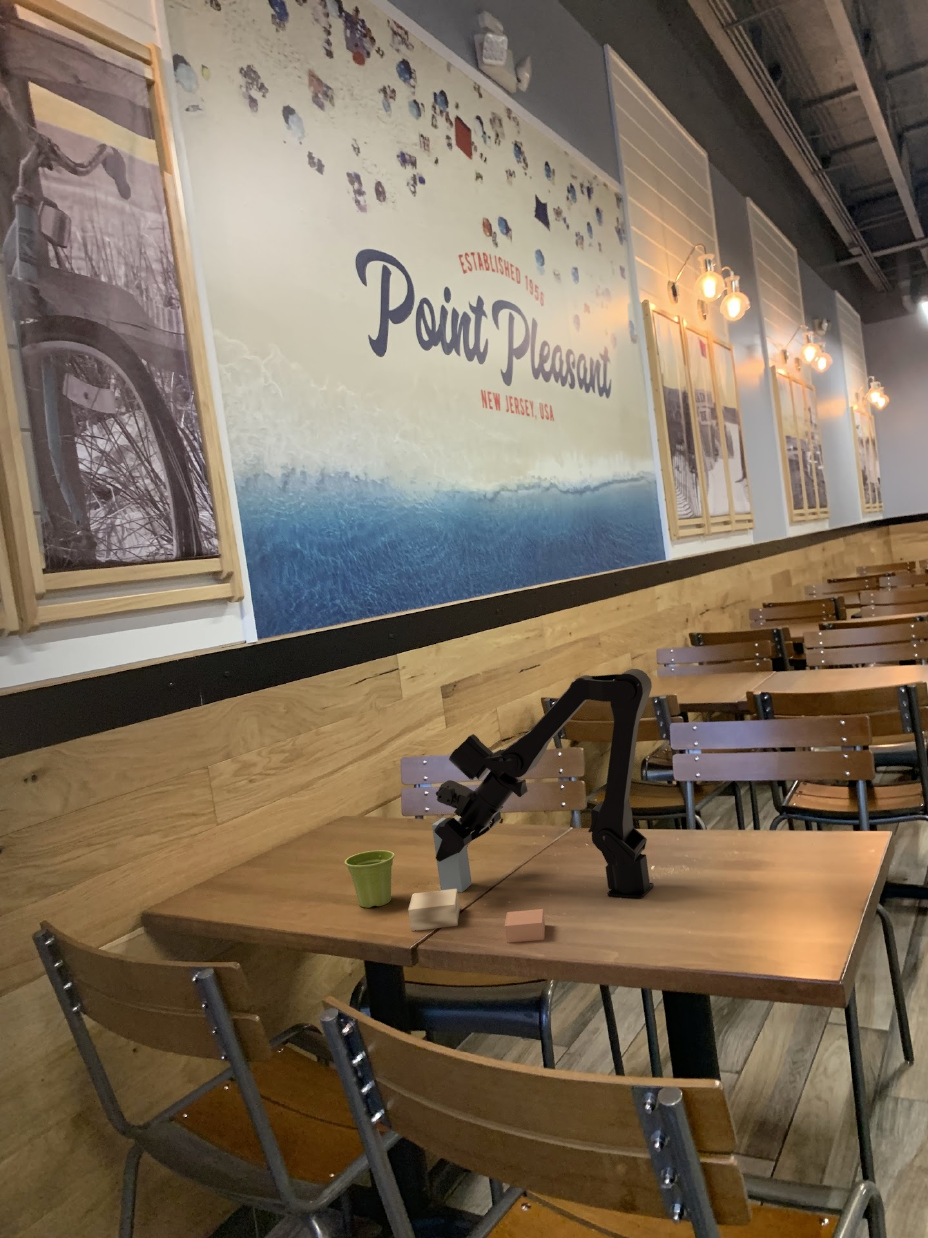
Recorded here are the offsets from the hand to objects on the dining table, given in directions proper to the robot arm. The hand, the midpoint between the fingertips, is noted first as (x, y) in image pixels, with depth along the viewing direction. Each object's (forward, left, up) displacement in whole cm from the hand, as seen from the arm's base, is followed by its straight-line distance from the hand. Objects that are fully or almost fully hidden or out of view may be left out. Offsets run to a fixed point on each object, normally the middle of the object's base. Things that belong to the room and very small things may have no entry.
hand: (445, 854), depth 178 cm
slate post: (-1, 0, -7) cm, 7 cm away
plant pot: (+11, +10, -7) cm, 16 cm away
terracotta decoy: (-25, +17, -7) cm, 31 cm away
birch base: (-6, +15, -7) cm, 18 cm away
